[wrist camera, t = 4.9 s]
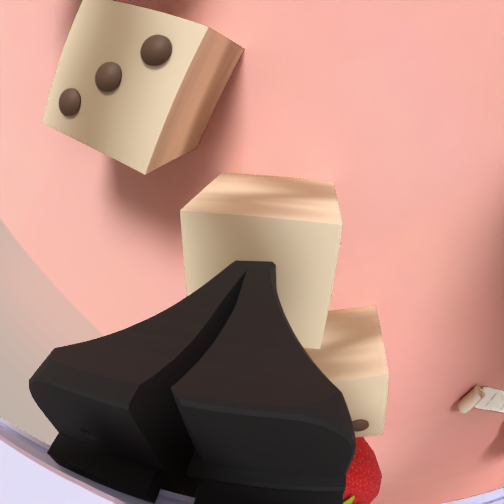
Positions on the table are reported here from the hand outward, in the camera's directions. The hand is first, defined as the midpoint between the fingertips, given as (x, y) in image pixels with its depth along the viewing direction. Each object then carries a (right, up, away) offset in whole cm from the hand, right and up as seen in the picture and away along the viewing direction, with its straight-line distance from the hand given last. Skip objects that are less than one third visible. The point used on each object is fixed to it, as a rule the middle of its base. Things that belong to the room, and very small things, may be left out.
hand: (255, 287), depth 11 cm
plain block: (+1, +2, +4) cm, 5 cm away
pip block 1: (-4, +9, +2) cm, 10 cm away
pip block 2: (+5, -4, +7) cm, 9 cm away
